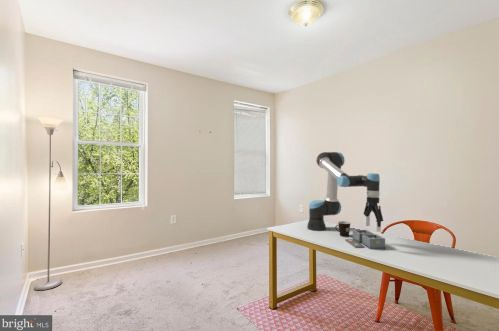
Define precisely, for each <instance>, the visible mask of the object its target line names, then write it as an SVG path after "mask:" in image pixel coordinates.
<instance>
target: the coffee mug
mask: <svg viewBox="0 0 499 331" xmlns="http://www.w3.org/2000/svg"><path fill="white" fill-rule="evenodd" d="M337 223H338V224H336V225H335V230H336V231H338V232H339V236H340V237H343V238H348V237H349V236H350V229H351V222H349V221H346V220H343V221H341V220H340V221H337ZM337 227H338V229H337Z"/></svg>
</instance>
